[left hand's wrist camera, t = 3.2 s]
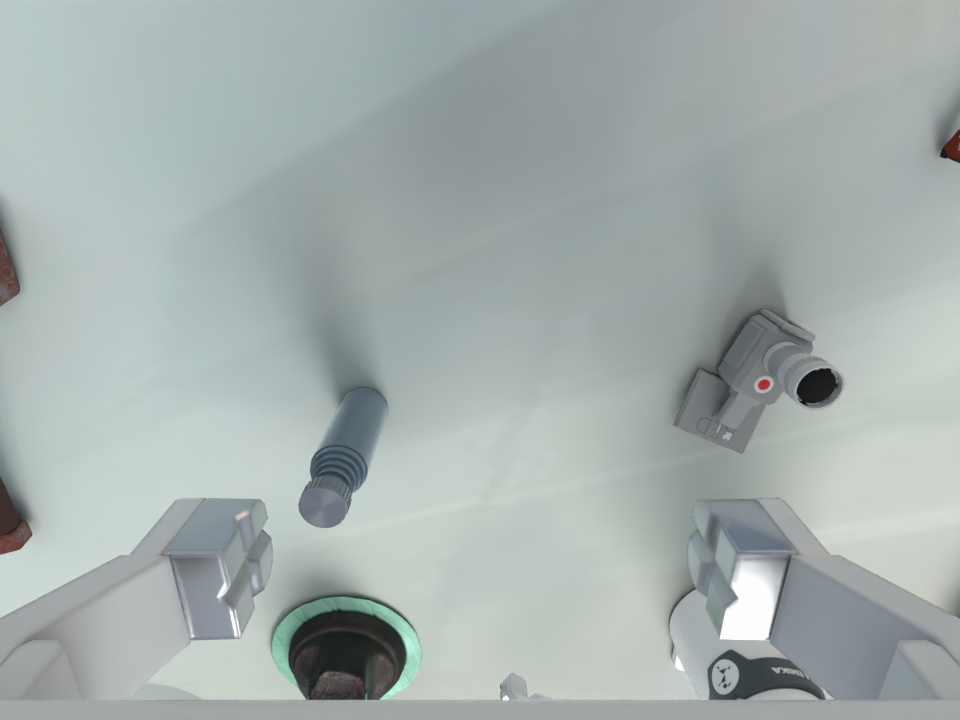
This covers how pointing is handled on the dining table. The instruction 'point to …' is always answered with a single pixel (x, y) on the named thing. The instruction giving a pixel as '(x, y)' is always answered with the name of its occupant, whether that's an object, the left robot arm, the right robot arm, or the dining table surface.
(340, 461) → the bottle
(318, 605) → the round two-tone rimmed part
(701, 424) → the camera
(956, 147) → the figurine
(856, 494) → the dining table surface
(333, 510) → the cap
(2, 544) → the sledgehammer
